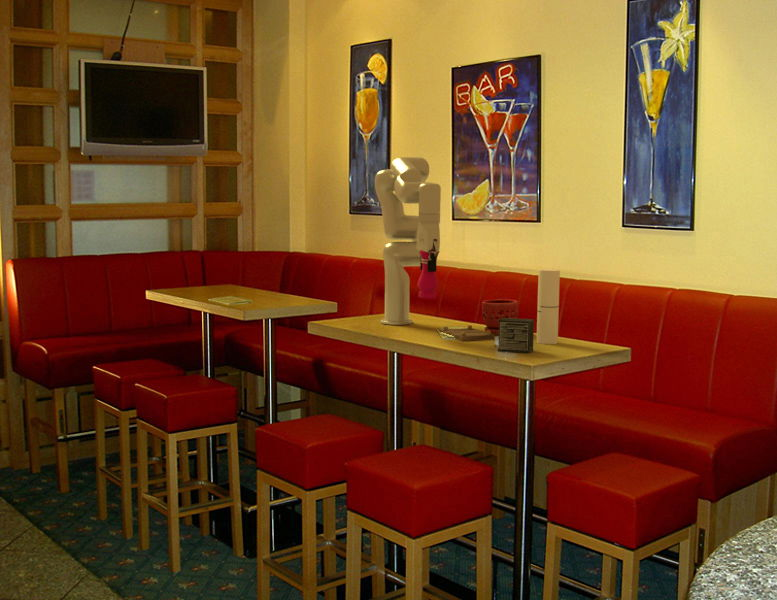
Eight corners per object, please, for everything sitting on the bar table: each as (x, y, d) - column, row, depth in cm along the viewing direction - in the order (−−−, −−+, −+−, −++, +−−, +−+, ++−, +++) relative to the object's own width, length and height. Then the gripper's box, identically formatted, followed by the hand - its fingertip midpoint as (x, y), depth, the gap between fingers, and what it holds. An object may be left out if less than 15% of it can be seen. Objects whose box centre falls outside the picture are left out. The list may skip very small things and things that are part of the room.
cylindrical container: (550, 344, 317) (552, 271, 314) (532, 342, 322) (534, 269, 319) (561, 342, 323) (563, 269, 320) (543, 340, 327) (545, 268, 324)
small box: (534, 350, 306) (535, 318, 305) (529, 353, 300) (530, 321, 299) (502, 348, 310) (503, 316, 308) (497, 351, 304) (498, 319, 302)
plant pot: (507, 329, 350) (508, 298, 349) (523, 335, 338) (524, 302, 337) (475, 331, 346) (476, 299, 345) (490, 336, 334) (491, 303, 333)
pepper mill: (436, 299, 325) (437, 241, 323) (415, 298, 327) (416, 240, 324) (439, 296, 333) (440, 240, 330) (419, 295, 334) (420, 239, 331)
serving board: (439, 333, 339) (439, 326, 338) (471, 332, 344) (471, 324, 344) (461, 341, 323) (461, 333, 323) (494, 339, 328) (494, 331, 328)
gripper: (409, 217, 332) (408, 268, 335) (430, 220, 317) (429, 273, 319) (428, 217, 335) (427, 268, 338) (450, 220, 320) (448, 273, 322)
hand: (428, 270), depth 328 cm, fingers closed on pepper mill, 5 cm apart
